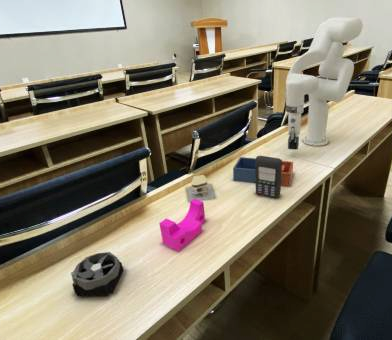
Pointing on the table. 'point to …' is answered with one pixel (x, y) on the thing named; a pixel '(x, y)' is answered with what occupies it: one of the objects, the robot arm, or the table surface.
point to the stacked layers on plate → (200, 189)
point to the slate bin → (244, 170)
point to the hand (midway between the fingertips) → (293, 146)
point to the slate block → (296, 140)
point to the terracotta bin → (287, 173)
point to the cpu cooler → (97, 275)
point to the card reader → (268, 176)
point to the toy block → (183, 227)
